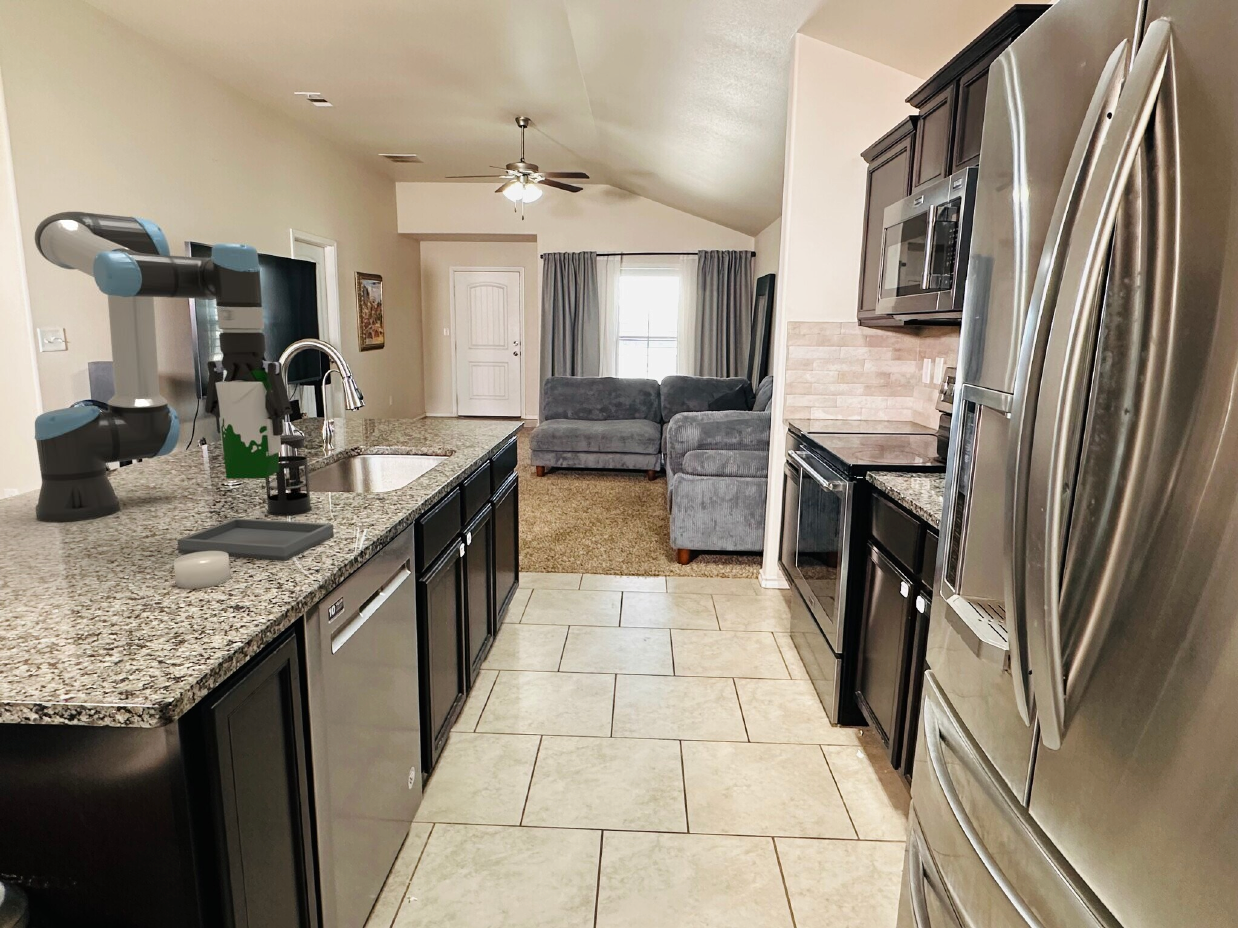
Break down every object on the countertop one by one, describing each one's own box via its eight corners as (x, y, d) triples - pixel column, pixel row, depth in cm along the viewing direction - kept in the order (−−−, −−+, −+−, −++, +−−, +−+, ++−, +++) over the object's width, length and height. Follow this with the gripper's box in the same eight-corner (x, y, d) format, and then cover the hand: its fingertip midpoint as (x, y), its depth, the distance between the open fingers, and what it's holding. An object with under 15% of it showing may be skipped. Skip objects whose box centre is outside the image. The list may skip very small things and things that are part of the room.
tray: (178, 552, 138) (177, 539, 138) (236, 529, 154) (235, 517, 153) (285, 560, 135) (284, 547, 134) (333, 536, 150) (332, 524, 150)
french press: (304, 516, 165) (297, 413, 161) (259, 517, 164) (251, 413, 159) (318, 503, 176) (312, 407, 172) (277, 504, 175) (269, 407, 171)
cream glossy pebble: (164, 587, 121) (161, 563, 120) (199, 571, 129) (197, 549, 128) (207, 590, 120) (205, 567, 119) (241, 574, 127) (239, 552, 127)
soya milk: (269, 479, 138) (260, 371, 134) (218, 479, 137) (208, 371, 133) (286, 470, 146) (278, 368, 142) (238, 470, 145) (229, 368, 142)
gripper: (174, 330, 135) (186, 452, 139) (282, 332, 131) (292, 457, 135) (203, 330, 142) (214, 446, 146) (307, 331, 138) (315, 450, 142)
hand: (251, 451), depth 141 cm, fingers closed on soya milk, 9 cm apart
